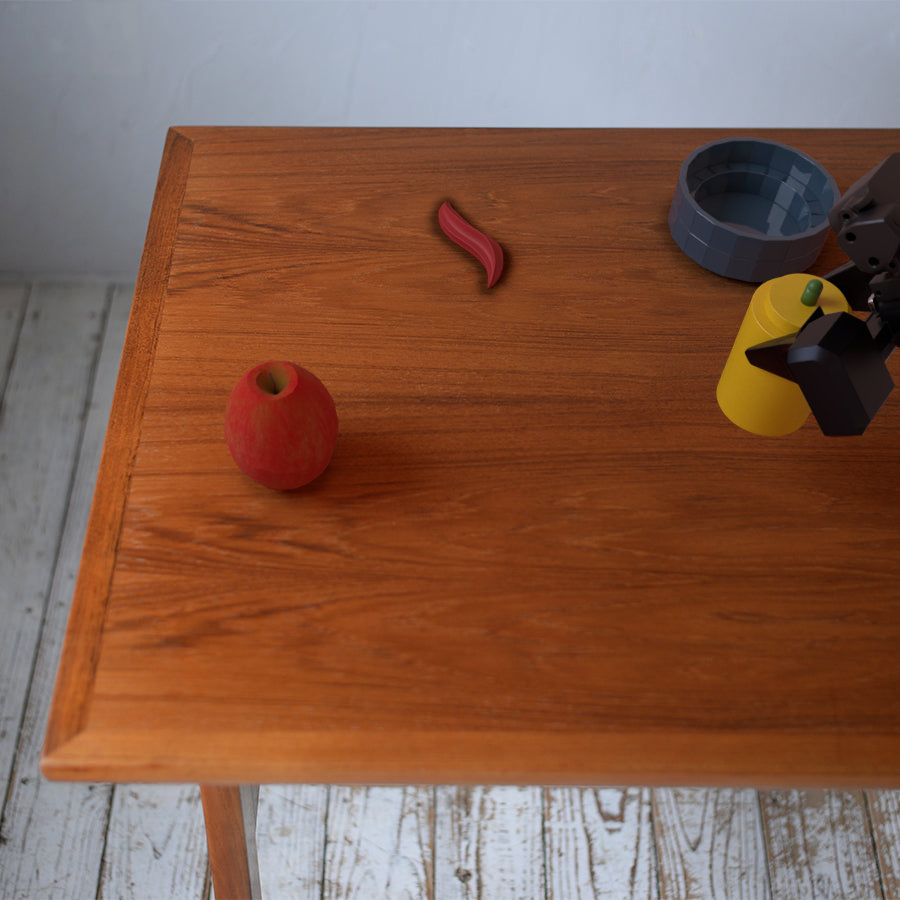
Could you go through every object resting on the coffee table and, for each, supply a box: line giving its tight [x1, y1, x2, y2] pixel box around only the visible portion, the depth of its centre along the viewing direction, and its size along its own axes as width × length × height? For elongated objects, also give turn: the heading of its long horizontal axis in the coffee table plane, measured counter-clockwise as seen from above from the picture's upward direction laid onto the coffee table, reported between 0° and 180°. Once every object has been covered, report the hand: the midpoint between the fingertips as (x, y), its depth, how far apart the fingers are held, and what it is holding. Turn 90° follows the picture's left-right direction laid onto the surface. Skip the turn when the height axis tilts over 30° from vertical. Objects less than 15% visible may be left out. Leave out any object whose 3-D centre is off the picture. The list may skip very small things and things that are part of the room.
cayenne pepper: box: [438, 200, 504, 289], centre depth 88 cm, size 12×5×2 cm, turn 13°
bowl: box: [667, 136, 842, 283], centre depth 88 cm, size 14×14×6 cm
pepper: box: [716, 273, 855, 437], centre depth 65 cm, size 7×7×12 cm
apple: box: [222, 359, 340, 491], centre depth 69 cm, size 8×8×11 cm
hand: (773, 326), depth 64 cm, fingers closed on pepper, 6 cm apart
